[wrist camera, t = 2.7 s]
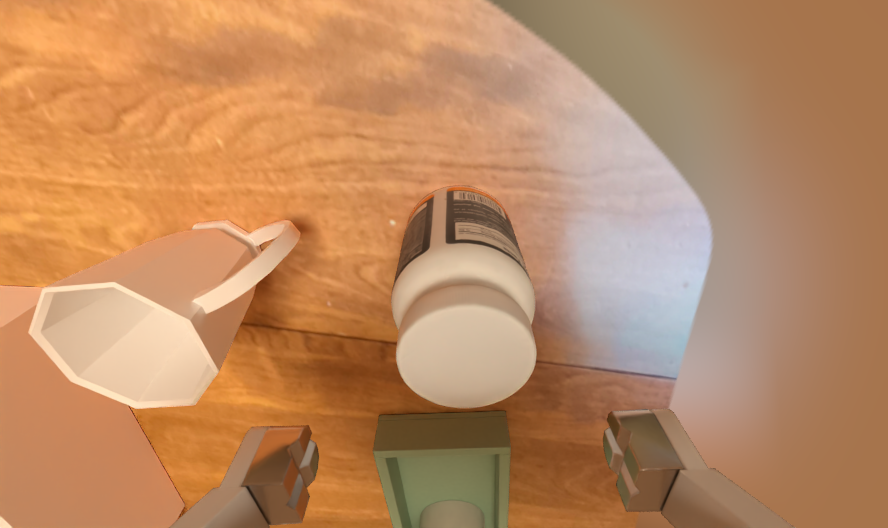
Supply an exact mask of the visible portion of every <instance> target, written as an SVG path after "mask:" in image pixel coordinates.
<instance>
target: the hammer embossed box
mask: <svg viewBox="0 0 888 528" xmlns="http://www.w3.org/2000/svg"><path fill="white" fill-rule="evenodd" d="M43 288H44V287H24V286H1V285H0V528H169V527H170V526H171V525H172V524H173V523H175V522H176V520H177V519H178V517H179V515H180V513H181V511H182V510H183V508H184V506H185V504H184V502H183V501H182V499H181V497H180V495H179V494H178V492H177V490H176V488H175V487H174V485H173V483H172V481H171V480H170V478H169V476H168V474H167V473H166V471H165V469H164V467H163V466H162V464H161V462H160V460H159V459H158V457H157V455H156V453H155V452H154V450H153V448H152V446H151V445H150V443H149V441H148V439H147V438H146V436H145V434H144V432H143V431H142V429H141V427H140V425H139V424H138V422H137V420H136V418H135V417H134V415H133V413H132V411H131V410H130V408H129V406H128V405H126V404H124V403H121V402H119V401H117V400H114V399H112V398H109V397H107V396H104V395H102V394H100V393H97V392H95V391H92V390H90V389H88V388H85V387H83V386H80V385H78V384H75V383H73V382H71V381H70V380H69V379H68V378H67V377H66V376H65V375H64V373H63V372H62V371H61V370H60V369H59V368H58V366H57V365H56V364H55V363H54V362H53V361H52V360H51V358H50V357H49V356H48V355H47V354H46V353H45V351H44V350H43V349H42V348H41V347H40V346H39V344H38V343H37V342H36V341H35V340H34V339H33V337H32V336H31V335H30V334H29V333H28V332H29V329H30V326H31V323H32V320H33V316H34V313H35V310H36V307H37V304H38V301H39V298H40V295H41V292H42V289H43Z"/></svg>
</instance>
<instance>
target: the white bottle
mask: <svg viewBox="0 0 888 528" xmlns="http://www.w3.org/2000/svg"><path fill="white" fill-rule="evenodd" d="M420 528H485V519H484V514H483V512H482V510H481V509H480V508H478V507H477V506H475V505H473V504H471V503H468V502H464V501H456V500H447V501H440V502H436V503H433V504H431V505H429V506H427V507H426V508H425V509H424V510H423V511H422V513H421V516H420Z"/></svg>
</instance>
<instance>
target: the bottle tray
mask: <svg viewBox="0 0 888 528" xmlns="http://www.w3.org/2000/svg"><path fill="white" fill-rule="evenodd" d="M510 453H511V445H510V438H509V432H508V425H507V418H506V412H505V411H489V412H460V413H431V414H402V415H379V419H378V425H377V431H376V436H375V442H374V447H373V454H374V458H375V462H376V466H377V469H378V473H379V477H380V481H381V484H382V488H383V492H384V495H385V499H386V503H387V507H388V510H389V514H390V518H391V521H392V525H393V528H420V516H421V513H422V511H423V510H424V509H425V508H426V507H427V506H429V505H431V504H433V503H436V502H440V501H447V500H456V501H464V502H468V503H471V504H473V505H475V506H477V507H478V508H480V509H481V510H482V512H483V514H484V519H485V528H508V507H509V481H510V455H511V454H510Z"/></svg>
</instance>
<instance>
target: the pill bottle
mask: <svg viewBox="0 0 888 528" xmlns="http://www.w3.org/2000/svg"><path fill="white" fill-rule="evenodd" d="M391 305H392V313H393V318H394V321H395V324H396V326H397V329H398V330H399V332H398V340H397V349H396V361H397V366H398V370H399V372H400V375H401V377H402V378H403V380H404V382H405V383H406V384H407V385H408V387H409V388H411V389H412V390H413V391H414V392H415V393H416V394H418V395H419V396H421V397H423V398H424V399H426V400H428V401H430V402H433V403H435V404H438V405H442V406H447V407H453V408H476V407H482V406H487V405H491V404H494V403H497V402H499V401H502V400H504V399H505V398H507V397H509V396H511V395H512V394H514V393H515V392H517V391H518V390H519V389H520V388H521V387H522V386H523V385H524V384H525V383H526V382H527V380H528V379H529V378H530V376H531V374H532V372H533V370H534V367H535V363H536V356H537V350H536V344H535V339H534V335H533V331H532V327H531V324H532V321H533V318H534V313H535V292H534V287H533V285H532V282H531V280H530V277H529V274H528V272H527V269H526V266H525V263H524V260H523V257H522V255H521V252H520V249H519V246H518V243H517V240H516V236H515V234H514V231H513V228H512V225H511V222H510V220H509V217H508V215H507V213H506V211H505V209H504V208H503V207H502V205H501V204H500V203H499V202H498V201H497V200H496V199H495V198H494V197H493V196H491V195H490V194H488V193H486V192H484V191H482V190H480V189H477V188H474V187H470V186H449V187H444V188H441V189H438V190H436V191H434V192H432V193H431V194H429V195H427V196H426V197H425V198H423V199H422V200H421V201H420V202H419V203H418V205H417V206H416V207H415V208H414V210H413V212H412V213H411V215H410V218H409V221H408V224H407V227H406V231H405V235H404V239H403V243H402V248H401V253H400V258H399V263H398V268H397V272H396V276H395V280H394V285H393V290H392V296H391Z"/></svg>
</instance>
